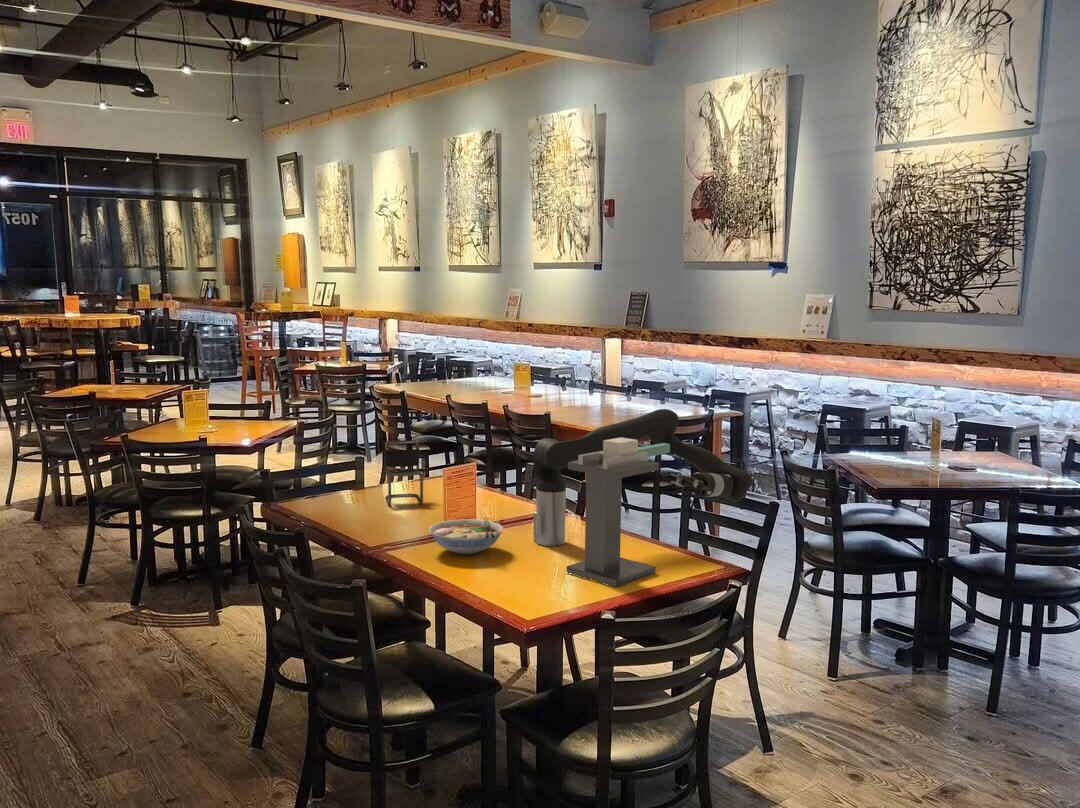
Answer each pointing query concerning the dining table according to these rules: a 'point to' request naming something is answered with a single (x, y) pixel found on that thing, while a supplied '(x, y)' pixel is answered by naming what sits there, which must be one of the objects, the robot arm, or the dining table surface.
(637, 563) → the stand
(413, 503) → the dining table surface
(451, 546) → the ramen bowl
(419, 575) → the dining table surface
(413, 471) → the chair
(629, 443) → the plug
